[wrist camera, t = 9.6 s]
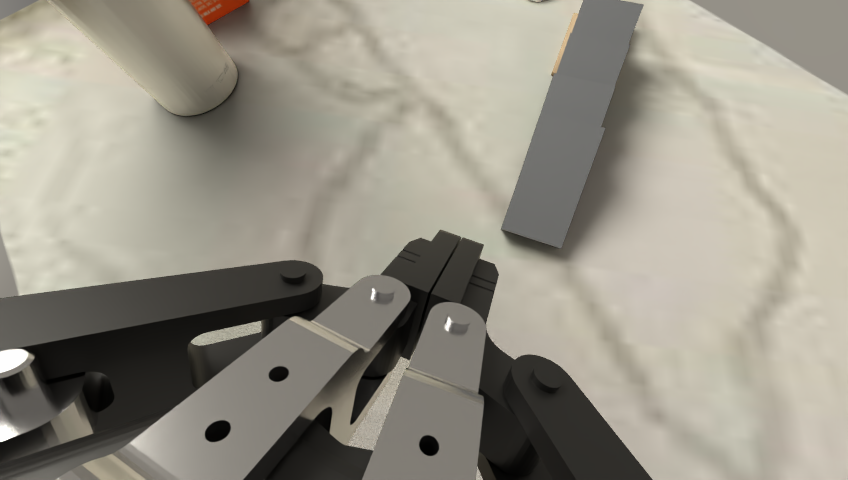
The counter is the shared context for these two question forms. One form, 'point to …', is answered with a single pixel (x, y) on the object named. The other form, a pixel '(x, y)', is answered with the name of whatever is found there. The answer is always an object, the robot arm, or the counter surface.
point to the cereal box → (215, 8)
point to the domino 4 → (552, 179)
